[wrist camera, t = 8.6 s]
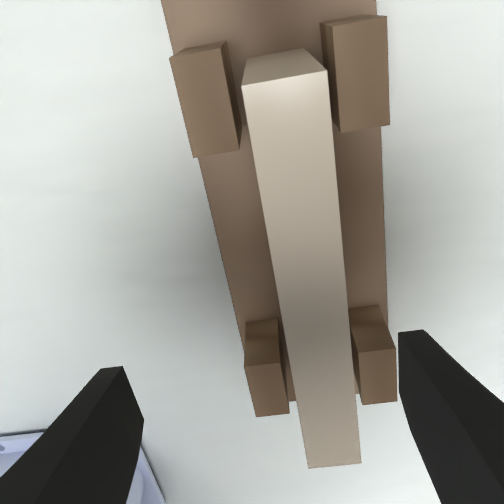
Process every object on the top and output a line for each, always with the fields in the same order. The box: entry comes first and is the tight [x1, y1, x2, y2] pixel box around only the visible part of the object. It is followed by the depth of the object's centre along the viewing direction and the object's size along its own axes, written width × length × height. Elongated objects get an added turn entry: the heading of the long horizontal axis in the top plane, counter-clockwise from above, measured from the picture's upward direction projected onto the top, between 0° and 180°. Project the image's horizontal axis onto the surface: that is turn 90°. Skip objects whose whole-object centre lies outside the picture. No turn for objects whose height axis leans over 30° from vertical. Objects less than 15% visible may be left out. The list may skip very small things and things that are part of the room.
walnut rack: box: [161, 0, 397, 417], centre depth 18 cm, size 7×20×4 cm, turn 10°
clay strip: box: [241, 48, 361, 469], centre depth 16 cm, size 2×14×6 cm, turn 10°
